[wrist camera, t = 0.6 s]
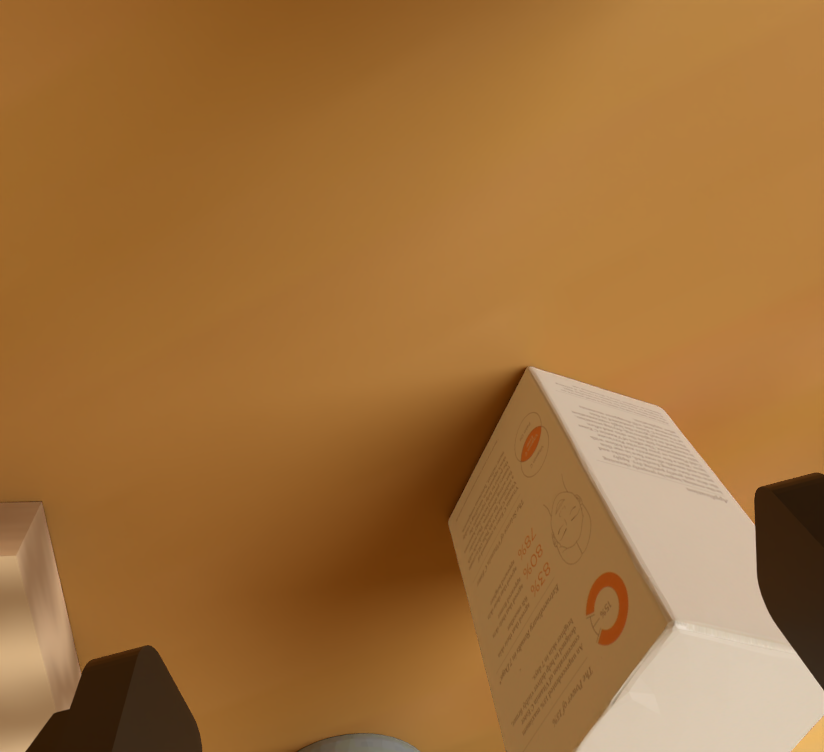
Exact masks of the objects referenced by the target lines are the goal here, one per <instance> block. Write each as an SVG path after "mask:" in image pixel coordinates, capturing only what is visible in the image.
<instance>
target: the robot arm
mask: <svg viewBox="0 0 824 752" xmlns="http://www.w3.org/2000/svg"><path fill="white" fill-rule="evenodd" d="M754 504H755V535H756V565H757V580H758V585H759V589H760V592H761V595H762V598H763V601H764V603H765V606H766V608H767V610H768V612H769V614H770V616H771V618H772V619H773V621H774V622H775V624H776V625H777V627H778V628H779V630H780V631H781V632H782V634H783V635H784V637H785V638H786V639H787V641H788V642H789V643H790V645H791V646H792V648H793V649H794V650H795V652H796V653H797V654H798V656H799V657H800V659H801V660H802V661H803V663H804V664H805V665H806V667H807V668H808V670H809V671H810V672H811V674H812V675H813V676H814V678H815V679H816V681H817V682H818V683H819V685H820V686H821V687H822V689H823V690H824V475H823V474H821V473H812V474H808V475H804V476H800V477H796V478H793V479H789V480H785V481H781V482H777V483H773V484H770V485H766V486H762V487H759V488H758V489H757V490H756V493H755V500H754ZM25 752H202V744H201V738H200V733H199V730H198V726H197V724H196V721H195V719H194V717H193V715H192V713H191V712H190V710H189V708H188V706H187V704H186V702H185V701H184V699H183V697H182V695H181V693H180V691H179V690H178V688H177V686H176V684H175V682H174V681H173V679H172V677H171V675H170V673H169V671H168V670H167V668H166V666H165V664H164V662H163V660H162V659H161V657H160V655H159V654H158V652H157V651H156V650H155V648H153V647H152V646H149V645H148V646H143V647H139V648H135V649H131V650H127V651H123V652H120V653H116V654H112V655H108V656H104V657H101V658H97V659H93V660H91V661H89V662H88V663H87V664H86V666H85V668H84V670H83V672H82V674H81V677H80V680H79V683H78V686H77V689H76V692H75V695H74V698H73V701H72V704H71V706H70V709H67V710H63V711H60V712H56V713H53V715H52V716H51V718H50V719H49V720H48V722H47V723H46V724H45V726H44V727H43V728H42V730H41V731H40V732H39V734H38V735H37V736H36V738H35V739H34V741H33V742H32V743H31V745H30V746H29V747H28V749H27V750H26V751H25Z"/></svg>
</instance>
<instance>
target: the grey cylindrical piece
mask: <svg viewBox="0 0 824 752" xmlns="http://www.w3.org/2000/svg"><path fill="white" fill-rule="evenodd" d="M298 752H420V751H419V750H417V749H416V748H415V747H414V746H412V745H410V744H408V743H406V742H404V741H402V740H399V739H396V738H393V737H389V736H384V735H378V734H347V735H341V736H336V737H331V738H327V739H324V740H321V741H318V742H316V743H313V744H311V745H309V746H307V747H305V748H303V749H301V750H300V751H298Z"/></svg>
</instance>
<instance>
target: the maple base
mask: <svg viewBox="0 0 824 752" xmlns="http://www.w3.org/2000/svg"><path fill="white" fill-rule="evenodd" d="M80 677H81V671H80V667H79V662H78V658H77V654H76V649H75V645H74V640H73V636H72V632H71V627H70V623H69V619H68V614H67V610H66V605H65V601H64V597H63V592H62V588H61V584H60V579H59V575H58V570H57V566H56V562H55V557H54V553H53V549H52V544H51V540H50V535H49V531H48V527H47V522H46V518H45V514H44V509H43V505H42V502H12V503H0V752H25V751H26V750H27V749H28V747H29V746H30V745H31V743H32V742H33V741H34V739H35V738H36V736H37V735H38V734H39V732H40V731H41V730H42V728H43V727H44V726H45V724H46V723H47V722H48V720H49V719H50V718H51V716H52V715H53V713H56V712H60V711H63V710H67V709H70V706H71V704H72V701H73V698H74V695H75V692H76V689H77V686H78V683H79V680H80Z"/></svg>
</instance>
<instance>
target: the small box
mask: <svg viewBox="0 0 824 752" xmlns="http://www.w3.org/2000/svg"><path fill="white" fill-rule="evenodd" d="M448 525H449V529H450V532H451V536H452V540H453V544H454V548H455V552H456V556H457V560H458V564H459V568H460V571H461V575H462V579H463V583H464V586H465V590H466V594H467V598H468V602H469V606H470V610H471V614H472V618H473V622H474V626H475V630H476V634H477V638H478V642H479V646H480V650H481V654H482V658H483V662H484V666H485V670H486V674H487V678H488V682H489V686H490V690H491V694H492V698H493V701H494V705H495V709H496V713H497V717H498V721H499V725H500V729H501V733H502V737H503V741H504V745H505V749H506V752H791V751H792V750H793V749H794V747H795V746H796V745H797V744H798V743H799V742H800V741H801V740H802V739H803V738H804V737H805V735H806V734H807V733H808V732H809V731H810V730H811V729H812V728H813V727H814V725H815V724H816V723H817V722H818V721H819V720H820V719H821V718H822V717H823V716H824V690H823V689H822V687H821V686H820V685H819V683H818V682H817V681H816V679H815V678H814V676H813V675H812V674H811V672H810V671H809V670H808V668H807V667H806V665H805V664H804V663H803V661H802V660H801V659H800V657H799V656H798V654H797V653H796V652H795V650H794V649H793V648H792V646H791V645H790V643H789V642H788V641H787V639H786V638H785V637H784V635H783V634H782V632H781V631H780V630H779V628H778V627H777V625H776V624H775V622H774V621H773V619H772V618H771V616H770V614H769V612H768V610H767V608H766V606H765V603H764V601H763V598H762V595H761V592H760V589H759V585H758V580H757V565H756V535H755V525H754V523H753V522H752V521H751V520H750V518H749V517H748V516H747V515H746V513H745V512H744V511H743V509H742V508H741V507H740V506H739V504H738V503H737V502H736V500H735V499H734V498H733V497H732V495H731V494H730V493H729V492H728V490H727V489H726V488H725V486H724V485H723V484H722V483H721V481H720V480H719V479H718V477H717V476H716V475H715V474H714V472H713V471H712V470H711V469H710V467H709V466H708V465H707V464H706V462H705V461H704V460H703V459H702V457H701V456H700V455H699V454H698V453H697V451H696V450H695V449H694V447H693V446H692V445H691V444H690V442H689V441H688V440H687V439H686V437H685V436H684V435H683V434H682V432H681V431H680V430H679V429H678V427H677V426H676V425H675V423H674V422H673V421H672V420H671V418H670V417H669V416H668V414H667V413H666V412H665V411H664V410H663V409H662V408H661V407H658V406H657V405H653V404H649V403H646V402H643V401H640V400H636V399H633V398H630V397H627V396H624V395H621V394H617V393H614V392H611V391H607V390H604V389H601V388H598V387H595V386H592V385H589V384H585V383H582V382H579V381H576V380H573V379H569V378H566V377H563V376H560V375H557V374H553V373H550V372H546V371H543V370H540V369H537V368H534V367H527V368H526V370H525V372H524V374H523V376H522V378H521V380H520V382H519V384H518V386H517V388H516V390H515V392H514V393H513V395H512V397H511V399H510V401H509V403H508V405H507V407H506V409H505V411H504V413H503V415H502V417H501V418H500V420H499V422H498V424H497V426H496V428H495V430H494V432H493V434H492V436H491V438H490V440H489V442H488V444H487V446H486V447H485V449H484V451H483V453H482V455H481V457H480V459H479V461H478V463H477V465H476V467H475V469H474V471H473V473H472V475H471V477H470V479H469V481H468V483H467V485H466V487H465V489H464V491H463V493H462V495H461V497H460V498H459V500H458V502H457V504H456V506H455V508H454V510H453V512H452V514H451V516H450V518H449V520H448Z"/></svg>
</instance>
